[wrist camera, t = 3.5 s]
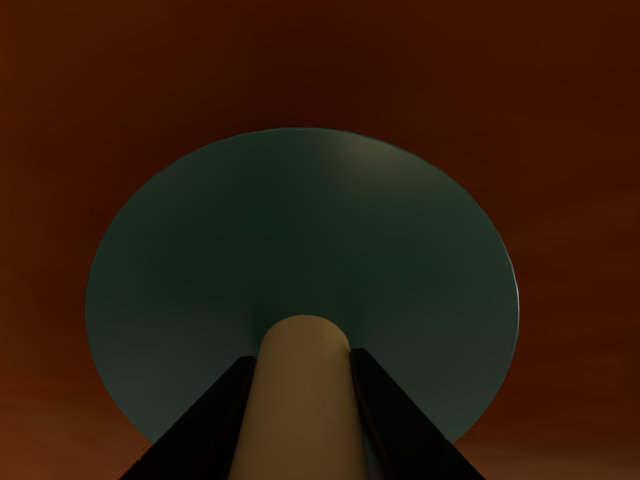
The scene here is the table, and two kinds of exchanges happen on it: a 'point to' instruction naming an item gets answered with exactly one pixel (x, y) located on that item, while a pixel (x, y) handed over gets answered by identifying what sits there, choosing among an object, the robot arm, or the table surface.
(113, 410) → the table surface
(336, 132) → the pan lid
